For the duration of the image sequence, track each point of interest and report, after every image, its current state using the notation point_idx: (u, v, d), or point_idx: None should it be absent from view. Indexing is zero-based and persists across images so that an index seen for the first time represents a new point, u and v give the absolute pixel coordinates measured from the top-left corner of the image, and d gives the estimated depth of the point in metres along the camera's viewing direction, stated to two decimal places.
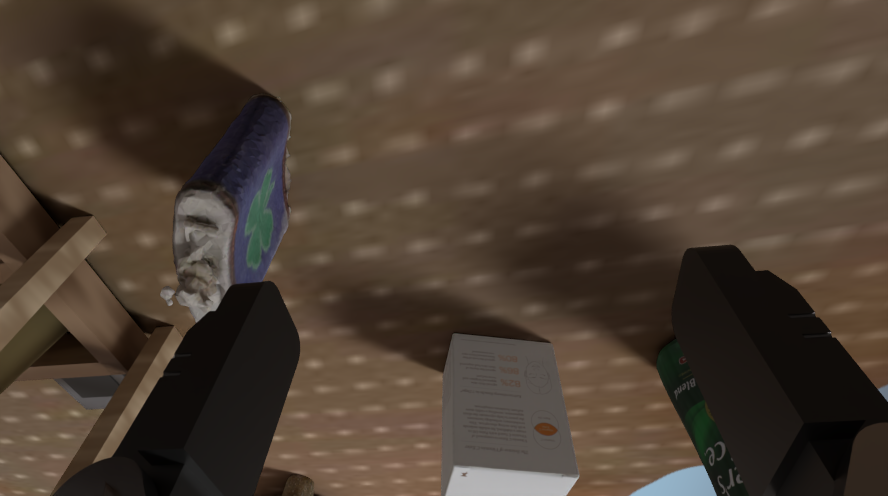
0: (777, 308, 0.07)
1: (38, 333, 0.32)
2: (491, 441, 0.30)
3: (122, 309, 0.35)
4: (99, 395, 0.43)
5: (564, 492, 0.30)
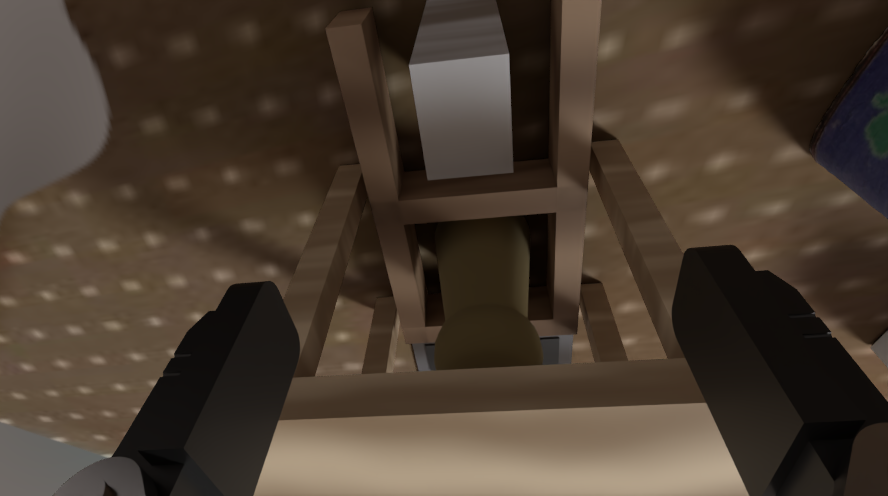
0: (777, 308, 0.07)
1: (528, 279, 0.27)
2: None
3: None
4: None
5: None
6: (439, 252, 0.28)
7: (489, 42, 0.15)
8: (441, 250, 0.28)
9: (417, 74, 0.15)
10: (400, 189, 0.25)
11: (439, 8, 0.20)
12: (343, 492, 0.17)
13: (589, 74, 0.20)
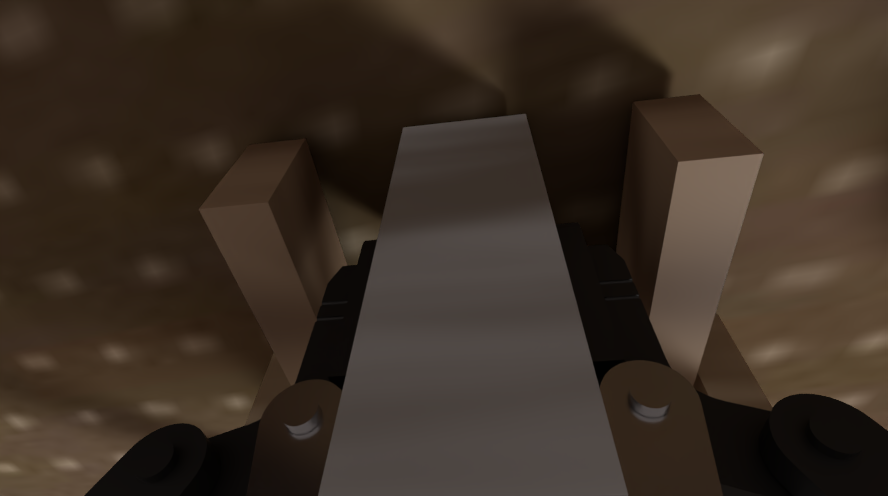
0: (592, 273, 0.08)
1: None
2: None
3: None
4: None
5: None
6: None
7: (550, 378, 0.06)
8: None
9: None
10: None
11: (424, 162, 0.10)
12: None
13: (712, 278, 0.11)
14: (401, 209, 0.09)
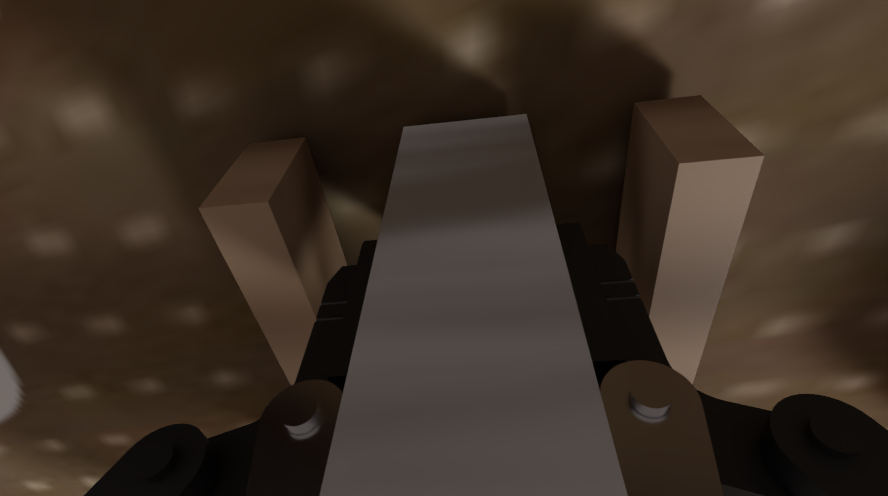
0: (592, 273, 0.08)
1: None
2: None
3: None
4: None
5: None
6: None
7: (551, 382, 0.06)
8: None
9: None
10: None
11: (424, 162, 0.10)
12: None
13: (711, 279, 0.11)
14: (401, 210, 0.09)
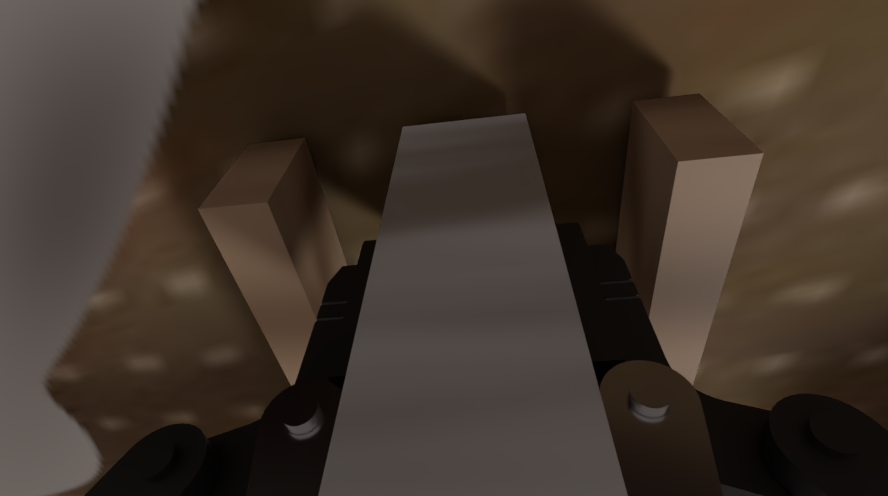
0: (592, 273, 0.08)
1: None
2: None
3: None
4: None
5: None
6: None
7: (550, 380, 0.06)
8: None
9: None
10: None
11: (424, 162, 0.10)
12: None
13: (712, 278, 0.11)
14: (401, 209, 0.09)
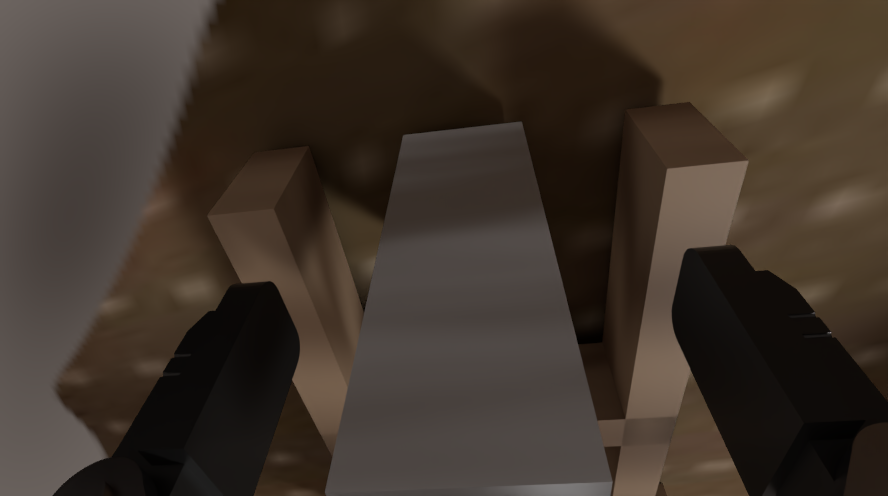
0: (777, 308, 0.07)
1: None
2: None
3: None
4: None
5: None
6: None
7: (543, 375, 0.06)
8: None
9: None
10: None
11: (424, 169, 0.11)
12: None
13: None
14: (402, 215, 0.09)
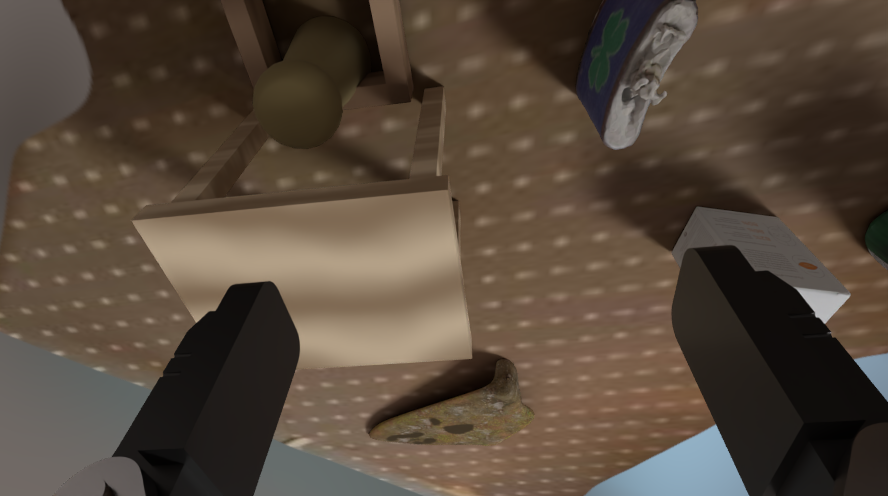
0: (777, 308, 0.07)
1: (350, 62, 0.32)
2: (771, 270, 0.37)
3: None
4: None
5: (830, 314, 0.37)
6: None
7: None
8: None
9: None
10: None
11: None
12: (224, 279, 0.28)
13: None
14: None
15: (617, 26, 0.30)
